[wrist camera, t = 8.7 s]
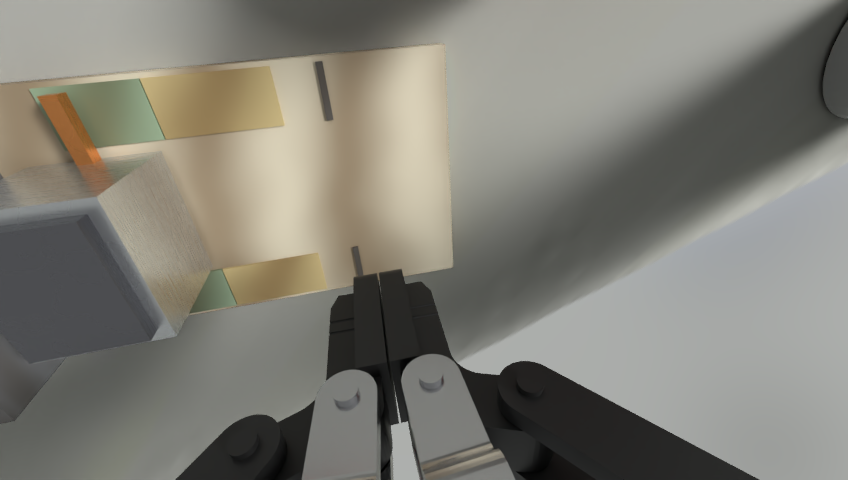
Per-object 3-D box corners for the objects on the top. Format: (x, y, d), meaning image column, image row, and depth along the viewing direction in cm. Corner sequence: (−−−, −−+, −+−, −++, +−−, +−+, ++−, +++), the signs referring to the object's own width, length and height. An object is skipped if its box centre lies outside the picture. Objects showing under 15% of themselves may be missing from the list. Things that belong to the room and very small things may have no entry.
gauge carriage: (132, 85, 14) (30, 114, 10) (230, 305, 20) (197, 391, 15) (-16, 99, 14) (-204, 138, 9) (130, 323, 19) (63, 419, 15)
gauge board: (438, 42, 17) (495, 51, 11) (448, 257, 23) (488, 338, 17) (-120, 94, 14) (-471, 145, 8) (61, 325, 20) (-57, 454, 14)
